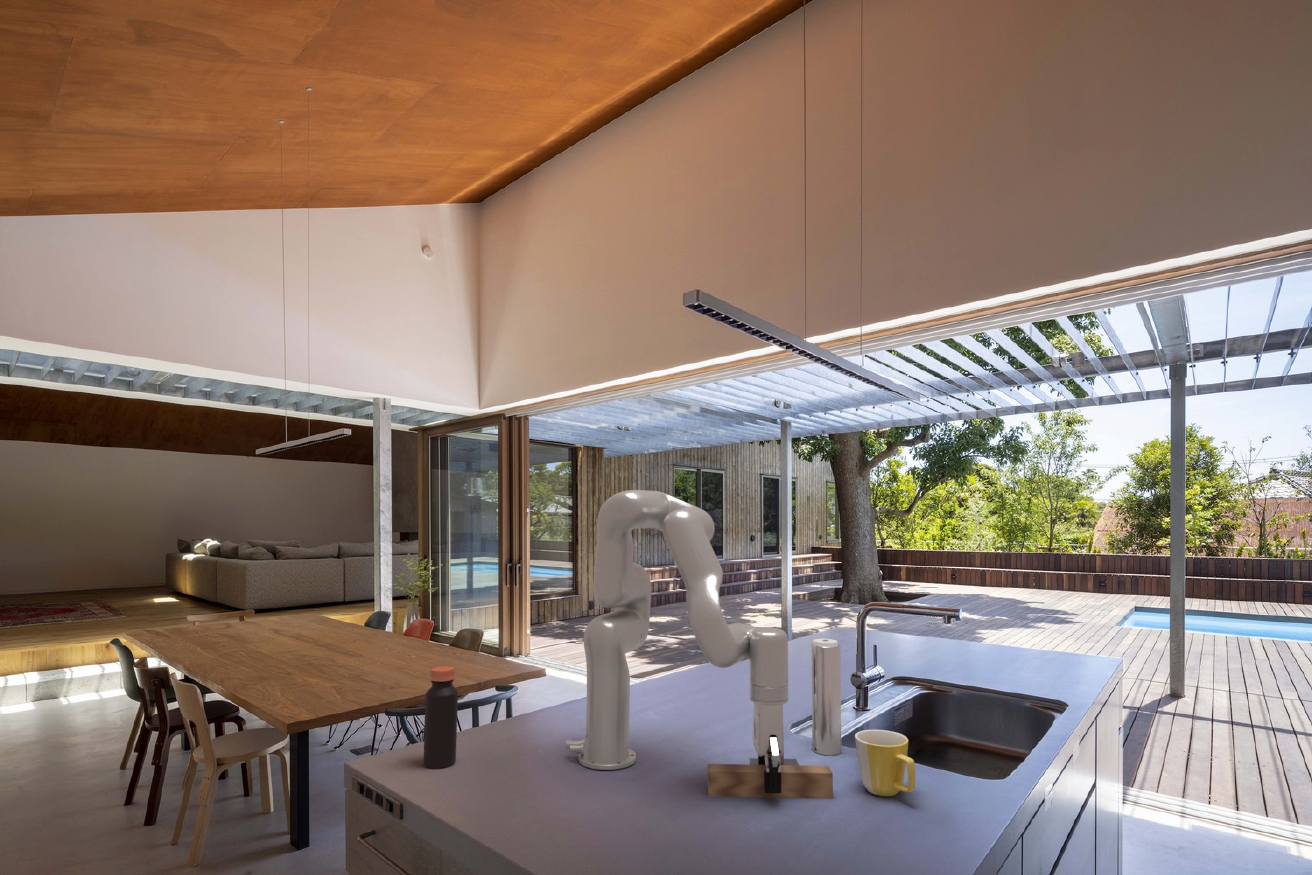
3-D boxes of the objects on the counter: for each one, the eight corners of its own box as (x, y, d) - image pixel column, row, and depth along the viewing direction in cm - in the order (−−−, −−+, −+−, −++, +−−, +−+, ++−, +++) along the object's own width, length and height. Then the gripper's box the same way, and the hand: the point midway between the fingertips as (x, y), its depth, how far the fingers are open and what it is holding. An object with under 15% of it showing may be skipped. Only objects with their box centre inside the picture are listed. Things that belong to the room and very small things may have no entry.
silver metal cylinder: (842, 756, 165) (840, 643, 168) (812, 754, 167) (811, 641, 169) (840, 747, 172) (839, 638, 174) (812, 745, 173) (811, 636, 175)
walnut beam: (708, 797, 143) (708, 771, 143) (707, 789, 147) (707, 763, 147) (832, 799, 142) (832, 773, 143) (828, 791, 146) (828, 765, 147)
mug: (846, 783, 150) (846, 730, 151) (892, 779, 152) (891, 727, 153) (879, 810, 137) (879, 752, 138) (929, 807, 139) (928, 749, 140)
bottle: (416, 765, 157) (419, 670, 159) (439, 756, 163) (442, 663, 165) (439, 771, 154) (443, 673, 156) (462, 761, 160) (465, 667, 162)
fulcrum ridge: (754, 779, 151) (754, 739, 152) (749, 765, 159) (749, 727, 160) (803, 779, 151) (802, 739, 152) (795, 765, 159) (795, 727, 160)
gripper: (744, 681, 155) (745, 767, 153) (755, 704, 137) (756, 802, 136) (780, 681, 155) (781, 768, 153) (796, 704, 137) (796, 802, 136)
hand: (769, 783), depth 145 cm, fingers open, 7 cm apart
